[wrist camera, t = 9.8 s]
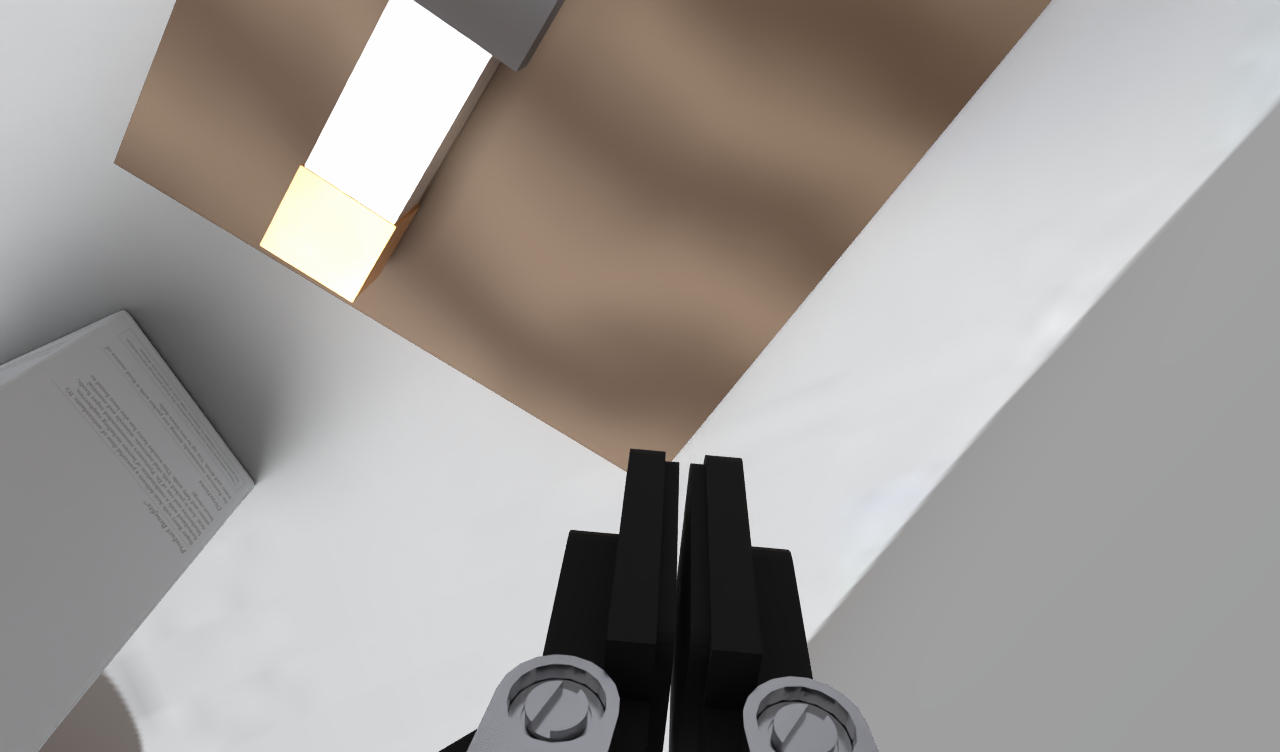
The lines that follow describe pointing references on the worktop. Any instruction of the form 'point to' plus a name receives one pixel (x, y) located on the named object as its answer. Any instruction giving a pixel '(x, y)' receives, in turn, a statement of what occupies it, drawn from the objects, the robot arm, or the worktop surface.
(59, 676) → the supplement box
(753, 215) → the board
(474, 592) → the worktop surface
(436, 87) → the link
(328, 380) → the worktop surface
